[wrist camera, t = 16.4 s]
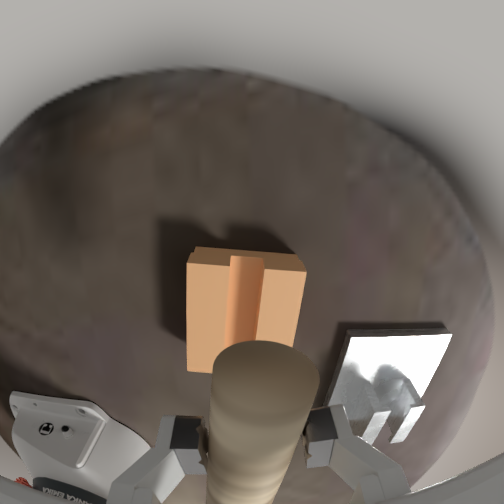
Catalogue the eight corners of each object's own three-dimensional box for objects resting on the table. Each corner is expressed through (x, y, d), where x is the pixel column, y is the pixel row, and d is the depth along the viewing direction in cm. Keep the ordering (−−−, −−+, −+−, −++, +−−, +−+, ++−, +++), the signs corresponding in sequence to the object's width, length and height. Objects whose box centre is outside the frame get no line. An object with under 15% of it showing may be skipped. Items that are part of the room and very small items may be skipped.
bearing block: (318, 409, 34) (328, 450, 28) (345, 325, 29) (365, 367, 24) (406, 402, 34) (424, 436, 29) (443, 324, 30) (471, 357, 24)
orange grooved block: (192, 343, 30) (187, 370, 26) (194, 243, 26) (186, 262, 22) (281, 348, 30) (285, 376, 26) (297, 251, 27) (306, 272, 23)
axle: (255, 505, 16) (260, 546, 13) (205, 504, 15) (205, 546, 12) (307, 341, 11) (331, 409, 8) (213, 337, 10) (211, 409, 7)
